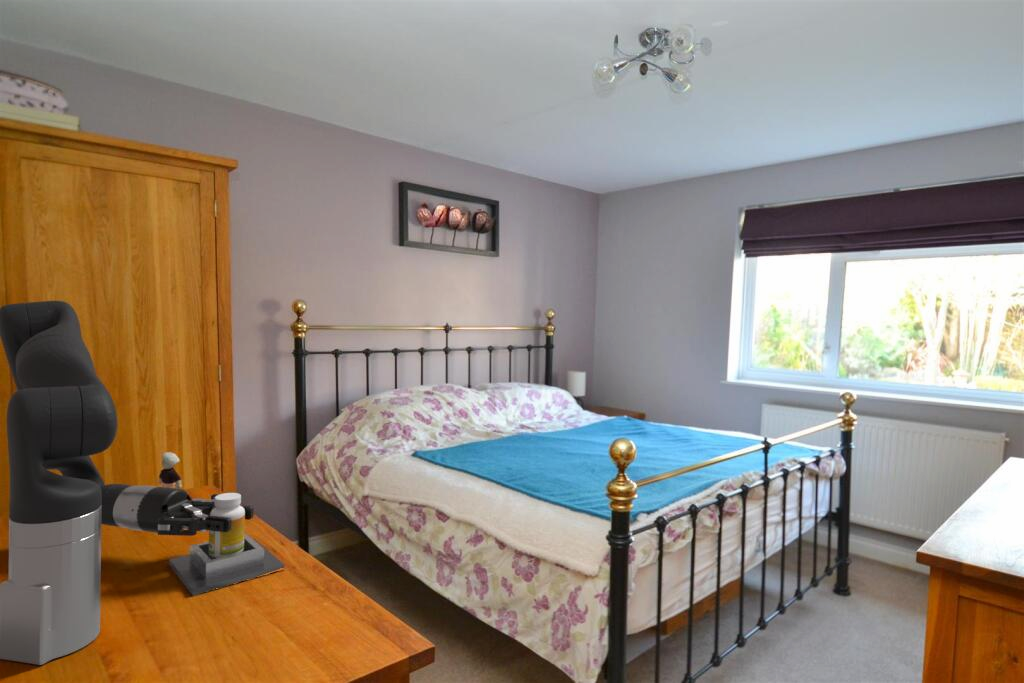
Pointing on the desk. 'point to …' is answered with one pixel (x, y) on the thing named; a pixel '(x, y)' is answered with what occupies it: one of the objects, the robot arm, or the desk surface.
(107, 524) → the robot arm
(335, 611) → the desk surface
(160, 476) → the grandmother figurine
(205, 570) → the socket plate
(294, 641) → the desk surface
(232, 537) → the supplement bottle
